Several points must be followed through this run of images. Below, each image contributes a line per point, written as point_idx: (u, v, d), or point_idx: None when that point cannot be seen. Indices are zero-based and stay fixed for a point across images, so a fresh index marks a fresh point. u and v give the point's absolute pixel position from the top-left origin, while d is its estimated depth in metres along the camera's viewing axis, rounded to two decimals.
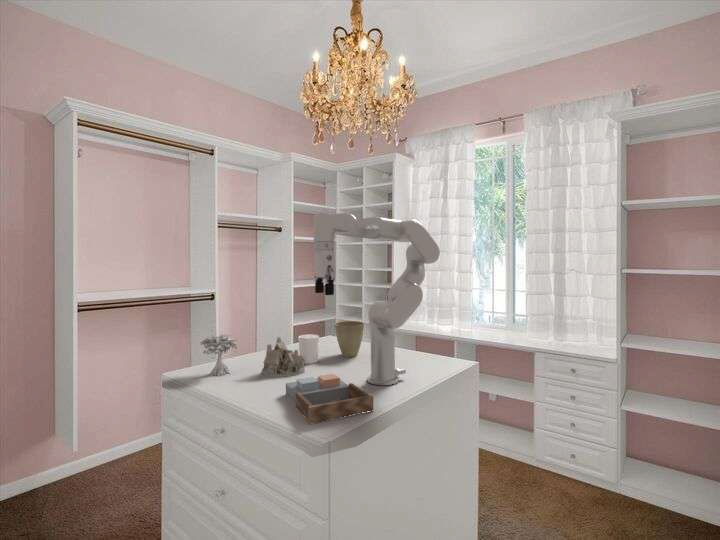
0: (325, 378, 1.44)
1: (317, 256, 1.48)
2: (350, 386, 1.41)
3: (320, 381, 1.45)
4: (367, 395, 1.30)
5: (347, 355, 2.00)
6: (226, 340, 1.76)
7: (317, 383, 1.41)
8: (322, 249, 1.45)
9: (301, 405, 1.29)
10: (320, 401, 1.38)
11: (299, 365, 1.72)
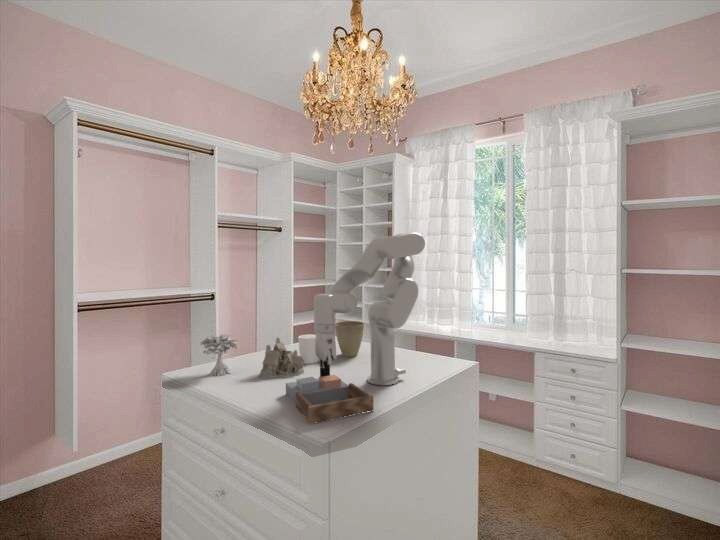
0: (326, 379, 1.43)
1: (317, 337, 1.47)
2: (350, 386, 1.41)
3: (321, 382, 1.44)
4: (367, 395, 1.30)
5: (347, 355, 2.00)
6: (226, 340, 1.76)
7: (317, 383, 1.41)
8: (322, 332, 1.44)
9: (301, 405, 1.29)
10: (320, 401, 1.38)
11: (298, 366, 1.71)
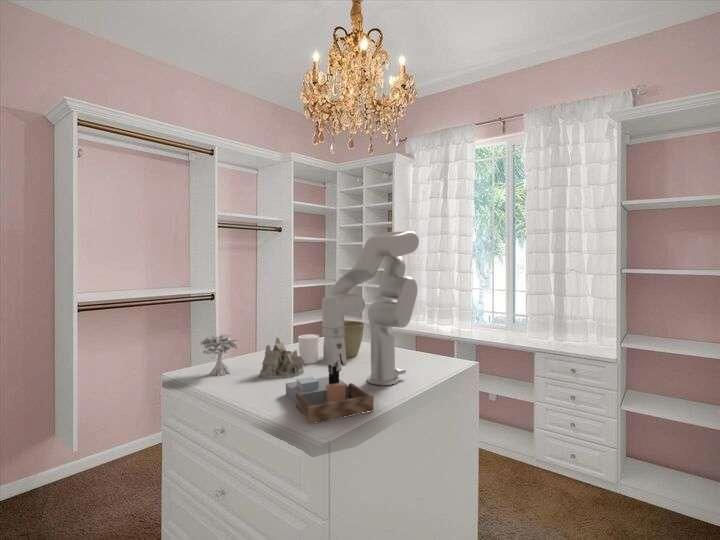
0: (332, 398, 1.37)
1: (326, 342, 1.40)
2: (350, 386, 1.41)
3: (327, 393, 1.38)
4: (367, 395, 1.30)
5: (347, 355, 2.00)
6: (226, 340, 1.76)
7: (317, 383, 1.41)
8: (331, 336, 1.37)
9: (301, 405, 1.29)
10: (320, 401, 1.38)
11: (298, 366, 1.71)
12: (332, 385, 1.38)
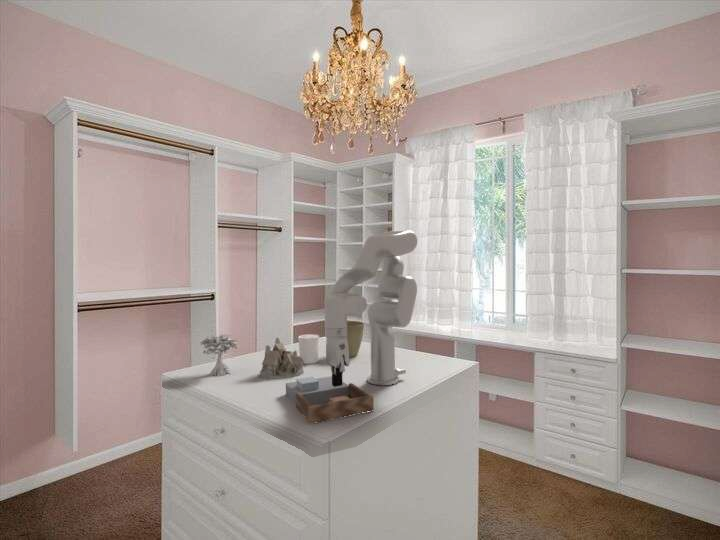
0: None
1: (329, 342, 1.38)
2: (350, 386, 1.41)
3: None
4: (367, 395, 1.30)
5: None
6: (226, 340, 1.76)
7: (317, 383, 1.41)
8: (334, 337, 1.35)
9: (301, 405, 1.29)
10: (320, 401, 1.38)
11: (298, 366, 1.70)
12: None
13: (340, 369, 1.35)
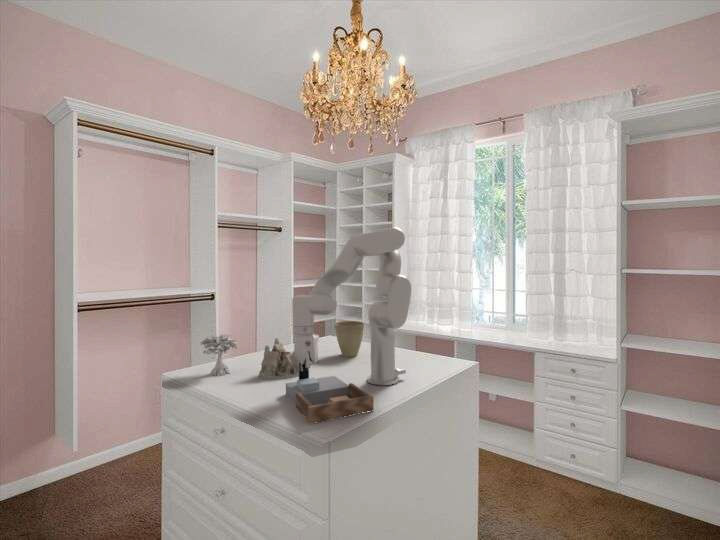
0: None
1: (296, 340, 1.44)
2: (350, 386, 1.41)
3: None
4: (367, 395, 1.30)
5: (347, 355, 2.00)
6: (226, 340, 1.76)
7: (318, 384, 1.40)
8: (300, 334, 1.41)
9: (301, 405, 1.29)
10: (320, 401, 1.38)
11: (297, 367, 1.69)
12: None
13: (305, 365, 1.41)
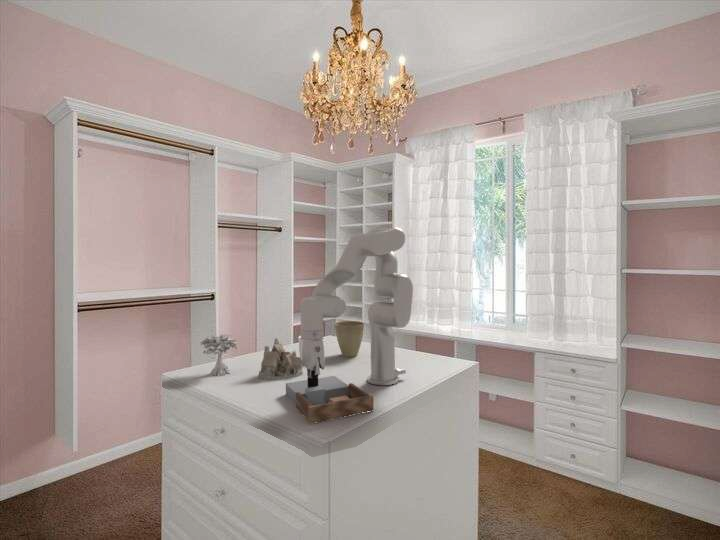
0: None
1: (304, 345, 1.36)
2: (350, 386, 1.41)
3: None
4: (367, 395, 1.30)
5: (347, 355, 2.00)
6: (226, 340, 1.76)
7: None
8: (309, 339, 1.33)
9: (301, 405, 1.29)
10: None
11: (297, 367, 1.69)
12: None
13: (315, 372, 1.33)
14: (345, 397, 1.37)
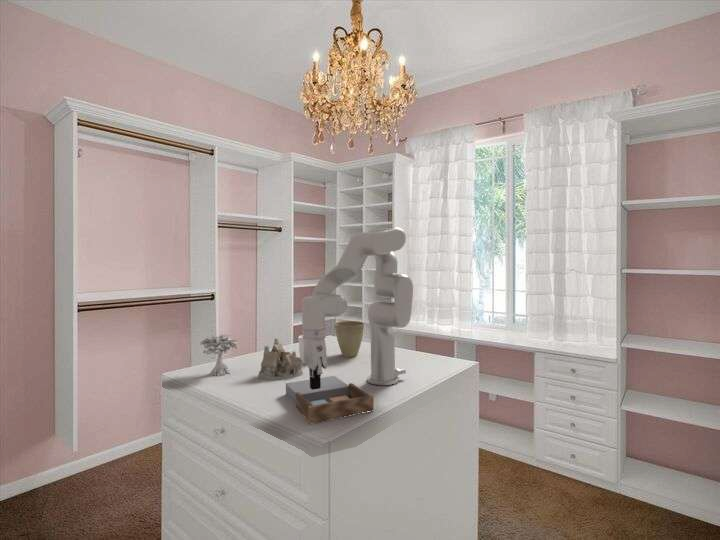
0: None
1: (306, 344, 1.35)
2: (350, 386, 1.41)
3: None
4: (367, 395, 1.30)
5: (347, 355, 2.00)
6: (226, 340, 1.76)
7: None
8: (311, 339, 1.32)
9: (301, 405, 1.29)
10: None
11: (297, 367, 1.69)
12: None
13: (317, 372, 1.32)
14: (345, 397, 1.37)
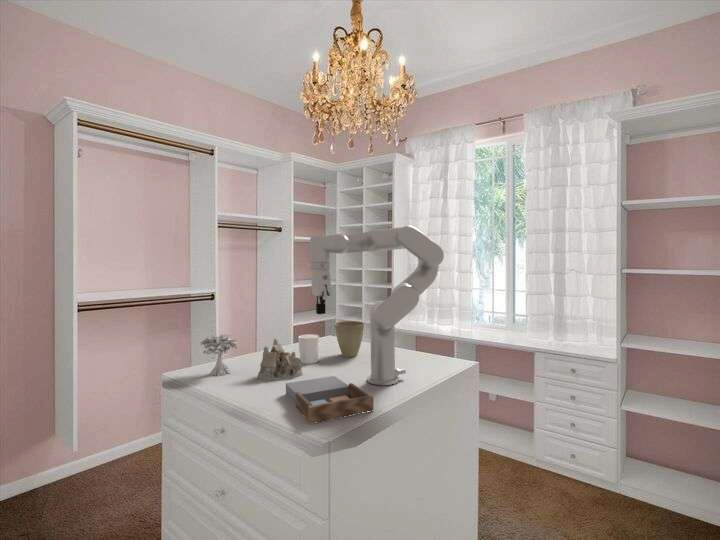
0: None
1: (314, 275, 1.58)
2: (350, 386, 1.41)
3: None
4: (367, 395, 1.30)
5: (347, 355, 2.00)
6: (226, 340, 1.76)
7: None
8: (318, 269, 1.55)
9: (301, 405, 1.29)
10: None
11: (297, 368, 1.68)
12: None
13: (323, 297, 1.55)
14: (345, 397, 1.37)
